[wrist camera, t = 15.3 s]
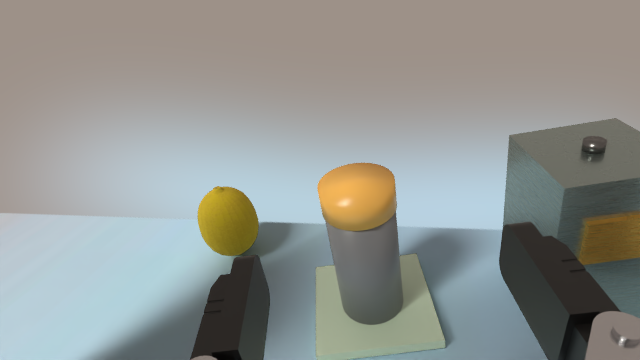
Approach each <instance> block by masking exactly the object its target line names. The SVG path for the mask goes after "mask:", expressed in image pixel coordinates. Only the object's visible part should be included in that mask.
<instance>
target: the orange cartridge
mask: <svg viewBox="0 0 640 360" xmlns="http://www.w3.org/2000/svg"><path fill="white" fill-rule="evenodd" d="M318 193H319V198H320V204H321V209H322V214H323V217H324V219H325V221H326V226H327V231H328V236H329V241H330V246H331V251H332V256H333V261H334V266H335V271H336V276H337V281H338V286H339V291H340V296H341V301H342V306H343V309H344V311H345V313H346V314H347V315H348V316H349V317H350V318H351V319H352V320H354V321H356V322H358V323H362V324H366V325H377V324H382V323H385V322H387V321H389V320H391V319H393V318H394V317H395V316H396V315H397V314H398V313H399V312H400V310H401V308H402V305H403V290H402V279H401V267H400V255H399V244H398V232H397V220H396V208H397V202H396V191H395V179H394V175H393V174H392V172H391V171H390V170H389V169H387V168H385V167H383V166H381V165H377V164H372V163H354V164H348V165H344V166H341V167H338V168H336V169H333V170H332V171H330V172H328V173H327V174H325V175H324V176H323V177H322V179H321V180H320V181H319V183H318Z"/></svg>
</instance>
